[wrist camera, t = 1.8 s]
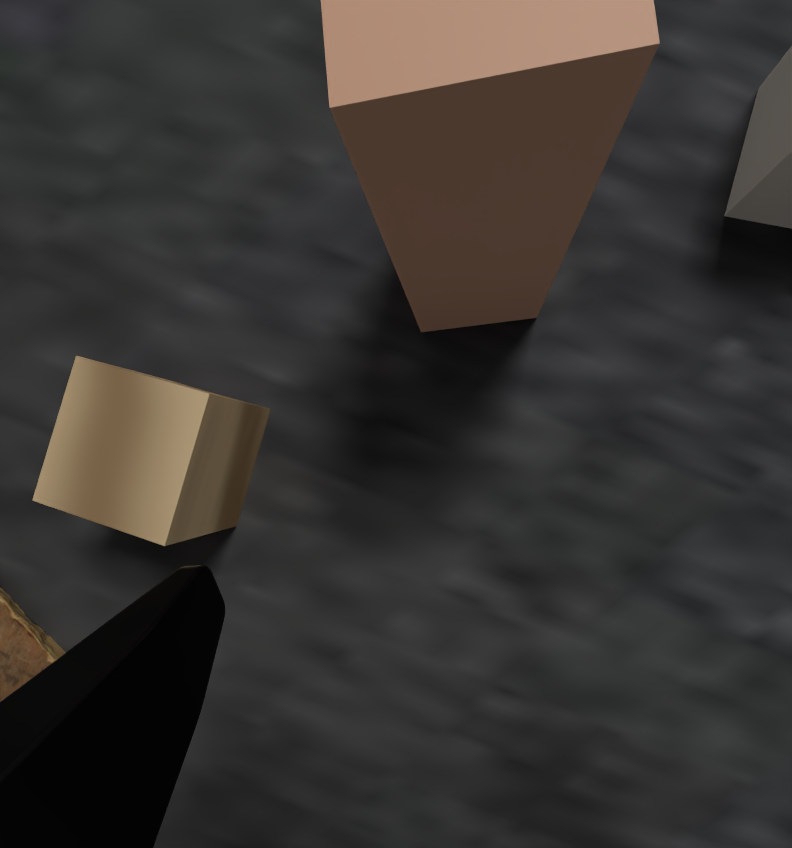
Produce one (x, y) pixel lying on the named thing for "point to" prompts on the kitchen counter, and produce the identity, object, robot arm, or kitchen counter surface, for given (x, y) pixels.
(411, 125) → the terracotta block
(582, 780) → the kitchen counter surface
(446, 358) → the kitchen counter surface
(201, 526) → the honey oak cube
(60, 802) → the robot arm
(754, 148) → the grey plastic cube
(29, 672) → the shard
